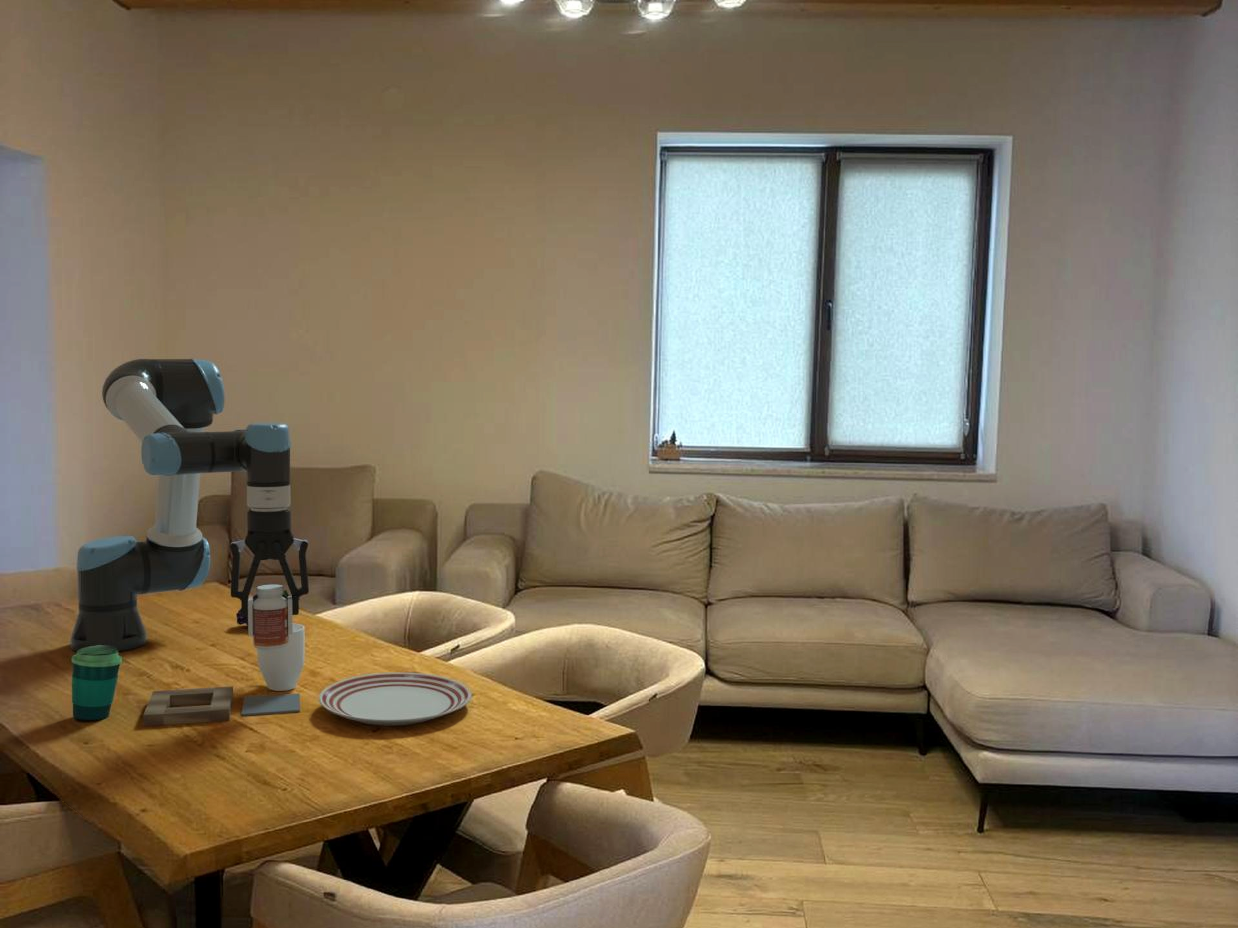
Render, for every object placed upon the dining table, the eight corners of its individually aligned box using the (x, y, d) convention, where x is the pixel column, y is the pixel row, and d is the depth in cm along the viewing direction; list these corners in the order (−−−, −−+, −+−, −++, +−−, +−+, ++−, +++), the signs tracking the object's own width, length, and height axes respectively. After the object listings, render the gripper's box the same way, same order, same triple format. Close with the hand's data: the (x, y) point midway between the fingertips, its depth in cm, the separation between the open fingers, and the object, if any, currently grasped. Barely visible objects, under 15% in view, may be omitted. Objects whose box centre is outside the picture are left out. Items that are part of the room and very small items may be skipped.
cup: (73, 711, 198) (71, 646, 197) (123, 706, 202) (121, 642, 200) (71, 725, 191) (69, 657, 190) (122, 720, 194) (121, 653, 193)
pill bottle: (293, 647, 202) (292, 588, 201) (258, 652, 198) (257, 591, 197) (282, 640, 207) (282, 582, 206) (249, 644, 204) (248, 585, 202)
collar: (153, 701, 205) (153, 691, 204) (233, 696, 209) (233, 686, 208) (143, 726, 191) (143, 715, 191) (229, 720, 195) (228, 709, 195)
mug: (313, 688, 214) (313, 627, 213) (270, 697, 208) (270, 635, 207) (284, 675, 223) (284, 616, 222) (243, 683, 217) (242, 623, 216)
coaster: (244, 698, 207) (244, 696, 207) (299, 695, 210) (299, 693, 210) (241, 715, 198) (241, 713, 198) (299, 711, 200) (299, 709, 200)
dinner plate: (496, 697, 212) (496, 680, 211) (425, 743, 186) (425, 724, 186) (371, 681, 221) (371, 665, 220) (287, 723, 195) (287, 705, 195)
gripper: (211, 512, 194) (213, 641, 196) (324, 510, 199) (325, 635, 202) (214, 506, 201) (216, 631, 203) (323, 504, 206) (324, 625, 209)
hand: (270, 633), depth 202 cm, fingers closed on pill bottle, 6 cm apart
